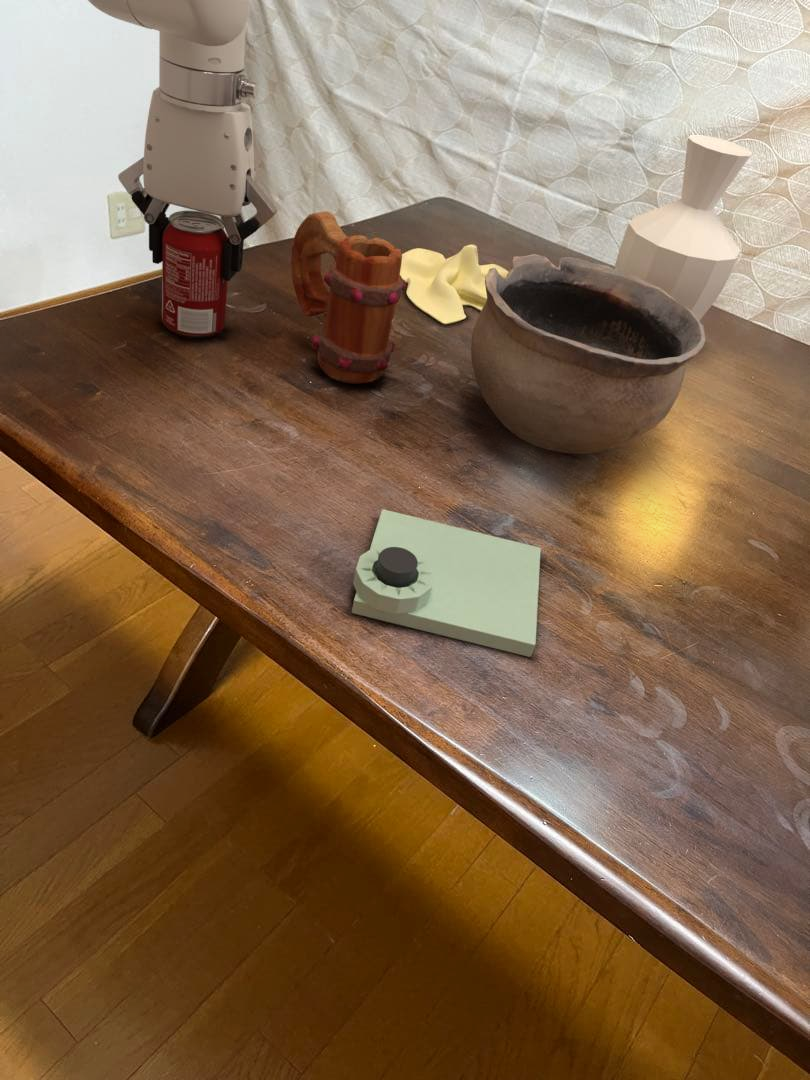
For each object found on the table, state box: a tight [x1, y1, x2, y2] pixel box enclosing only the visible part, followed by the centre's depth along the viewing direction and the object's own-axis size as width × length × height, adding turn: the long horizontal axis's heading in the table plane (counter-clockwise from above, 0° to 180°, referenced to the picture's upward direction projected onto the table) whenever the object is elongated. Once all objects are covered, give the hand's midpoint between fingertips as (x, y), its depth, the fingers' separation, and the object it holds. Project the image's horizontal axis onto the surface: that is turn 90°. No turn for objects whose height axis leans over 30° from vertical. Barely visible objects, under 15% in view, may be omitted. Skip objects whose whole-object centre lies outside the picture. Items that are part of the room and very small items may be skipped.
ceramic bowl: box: [470, 253, 707, 455], centre depth 88 cm, size 22×22×15 cm
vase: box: [614, 134, 753, 322], centre depth 108 cm, size 14×14×25 cm
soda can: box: [161, 210, 228, 340], centre depth 92 cm, size 7×7×12 cm
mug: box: [290, 211, 407, 385], centre depth 91 cm, size 15×8×15 cm, turn 47°
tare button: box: [375, 547, 418, 588], centre depth 65 cm, size 3×3×2 cm
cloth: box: [400, 244, 509, 325], centre depth 115 cm, size 22×19×6 cm
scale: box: [351, 508, 542, 658], centre depth 69 cm, size 14×12×3 cm
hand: (195, 266), depth 91 cm, fingers closed on soda can, 6 cm apart
